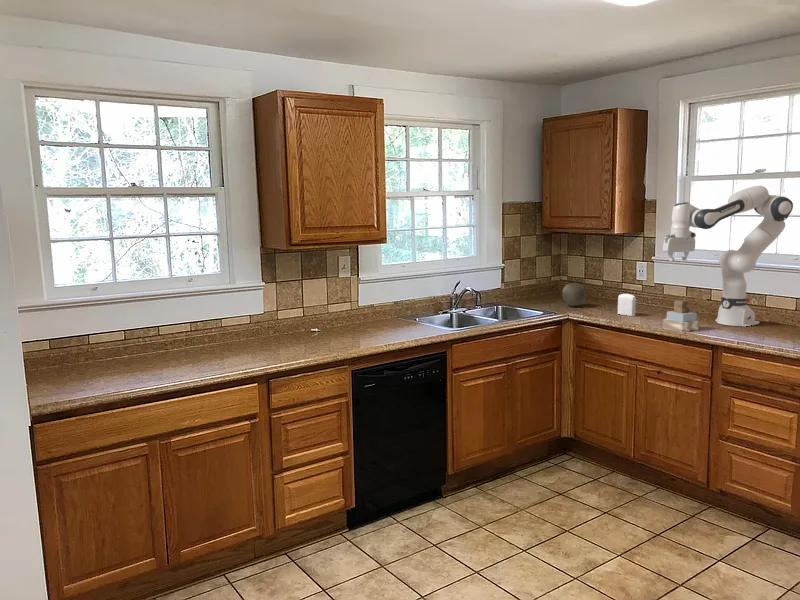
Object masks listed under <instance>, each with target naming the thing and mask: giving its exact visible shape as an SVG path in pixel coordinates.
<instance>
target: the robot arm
mask: <svg viewBox="0 0 800 600" xmlns="http://www.w3.org/2000/svg"><path fill="white" fill-rule="evenodd" d="M753 209H754V211H755V212H756V213H757V214H758V215H761V216H763V219H762V221H761V222H760V223H759V224H758V225H757V226H756V227H754V229H753V230H752V231H751V232H750V233H749V234H747V236H746V237H745V238H744V240H743V243H742V244H741V246H739V249H737V250H734V249H729V250H726V251H724V252H722V253H720V255H719V257H718V264H719V266H720V269H721V276H722V296H721V297H720V306H719V308H718V312H717V317H716V318H715V322H716V323H717V324H719V325H724V326H734V327H746V326H748V327H752V326H755V325H760V324H759V323H760V321H759V320H756V313H755V311H753V309H751V308H750V306H749V305H748V303H751V298H746V297H747V296H746V295H747V286H748V285H747V282H746V279H745V274H744V273H749V272H751V271H753V270H754V269H755V267H756V265H757V261H758V260H759V258H760V256H761V255H762V253H763V252H764V251H765V250H766V249H767V248H768V247H770V245H771V244H772V243H774V241H776V240H777V238H778V237H779V236H780V235H781V233H782V232H783V231H784V229H785V227H786V222H785V220H787V219H788V218H789V216H790V215H791V213H792V211H793V210H794V203H793V201H792V200H791V199H790V198H788V197H787V196H781V195H775V194H773V195H772V194H770V193H769V191H768V189H767V188H766V187H765V186H764V185H756V186H751V187H747V188H744V189H741V190H739V191H737V192H735V193H733V194H730V195H729V197H728V200H727V203H725V204H724V205H721V206H719V207H716V208H698V207H696V206H694V205H692V204H691V203H690V202H688V201H687V202H678V203H675V205H673V208H672V212H671V227H670V234H666V236H665V237H664V240H663V245H662V252H663V253H667V255H668V259H669V262H675V257H674V256H673V255H674V253H683V256H682V257H681V260H682V261H688V260H687V259H688V256H689V254H690V252H694V251H695V249H696V237H697V234H696V232H693V231H691V230H690V228H695V229H696V228H697V229H703V230H709V229H712V228H714V227H715V226H716V225H717V224H718V223H719V222H720V221H722V220H724V219H727V218H729V217H732V216H733V215H736V214H737V215H738V214H741V213H745V212H748V211H751V210H753ZM751 325H752V326H751Z"/></svg>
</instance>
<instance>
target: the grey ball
mask: <svg viewBox="0 0 800 600" xmlns="http://www.w3.org/2000/svg"><path fill="white" fill-rule="evenodd" d="M561 291H562V293H561V295H562V300H563V301H564V302H565V303H566V304H567V305H568V306H570V307H575V308H577V307H579V306H581V305H582V304H583V303H585V301H586V299H587V298H586V297H587V293H586V290H585V287H584V286H583V285H582V284H581V283H579V282H571V283H567V284H565V286H564V287H563V288H562V290H561Z"/></svg>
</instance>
